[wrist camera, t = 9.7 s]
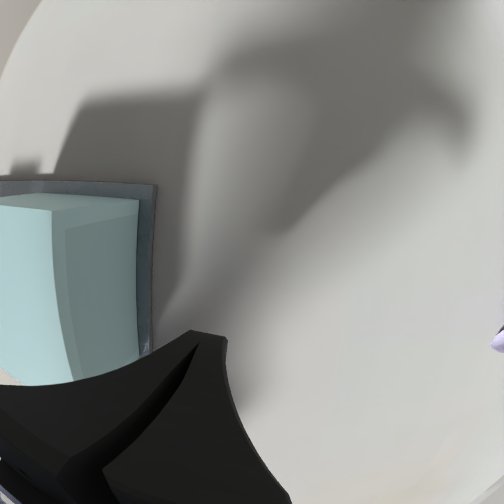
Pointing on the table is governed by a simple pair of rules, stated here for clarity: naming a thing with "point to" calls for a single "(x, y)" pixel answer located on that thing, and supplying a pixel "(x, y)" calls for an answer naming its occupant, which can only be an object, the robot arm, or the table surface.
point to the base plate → (144, 233)
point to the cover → (67, 286)
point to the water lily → (498, 342)
